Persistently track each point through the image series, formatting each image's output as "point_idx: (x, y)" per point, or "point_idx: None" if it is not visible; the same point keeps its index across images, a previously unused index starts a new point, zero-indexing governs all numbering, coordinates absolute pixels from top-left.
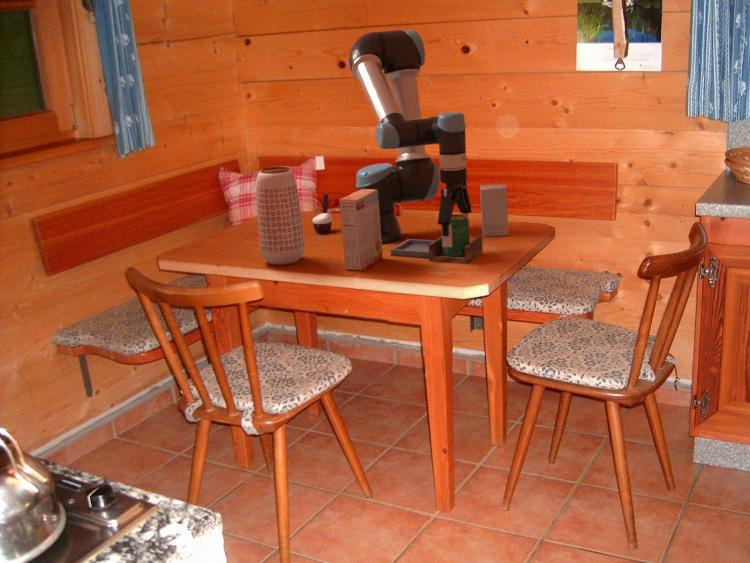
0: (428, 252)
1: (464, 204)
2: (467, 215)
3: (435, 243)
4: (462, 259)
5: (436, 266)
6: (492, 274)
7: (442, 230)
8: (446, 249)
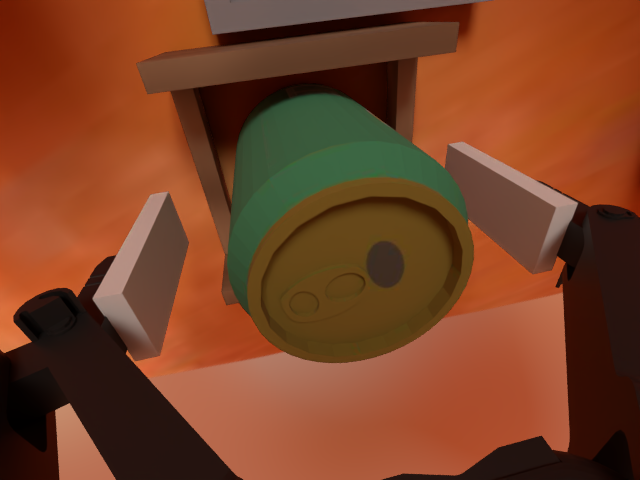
0: (208, 12)
1: (567, 358)
2: (525, 266)
3: (223, 82)
4: (222, 241)
5: (109, 148)
6: (169, 361)
7: (82, 290)
8: (235, 159)
